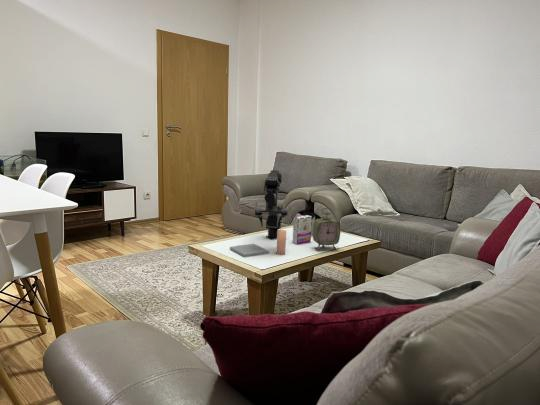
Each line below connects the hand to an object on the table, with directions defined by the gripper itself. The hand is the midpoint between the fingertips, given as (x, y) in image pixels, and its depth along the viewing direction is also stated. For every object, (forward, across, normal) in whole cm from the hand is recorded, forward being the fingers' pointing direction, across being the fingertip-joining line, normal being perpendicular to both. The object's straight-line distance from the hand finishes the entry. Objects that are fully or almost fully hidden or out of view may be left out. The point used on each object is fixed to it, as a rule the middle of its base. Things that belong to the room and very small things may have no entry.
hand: (269, 227), depth 248 cm
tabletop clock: (+13, +34, -1) cm, 36 cm away
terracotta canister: (+13, +5, -8) cm, 16 cm away
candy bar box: (+13, +23, +13) cm, 30 cm away
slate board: (+13, -12, -3) cm, 18 cm away
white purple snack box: (+13, +31, +32) cm, 46 cm away
